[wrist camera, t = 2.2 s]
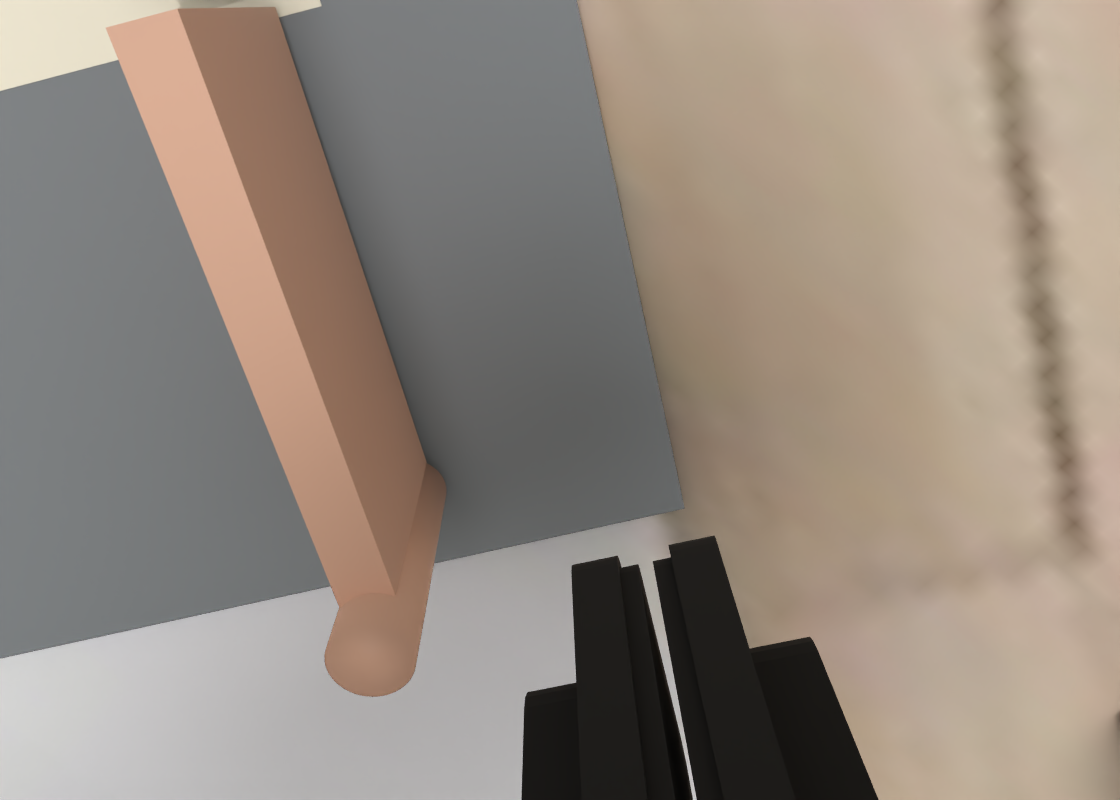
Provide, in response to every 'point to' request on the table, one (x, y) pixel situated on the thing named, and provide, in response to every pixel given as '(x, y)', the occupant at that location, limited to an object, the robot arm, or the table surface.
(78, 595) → the mat
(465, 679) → the table surface
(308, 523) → the fence swing section
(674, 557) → the robot arm
